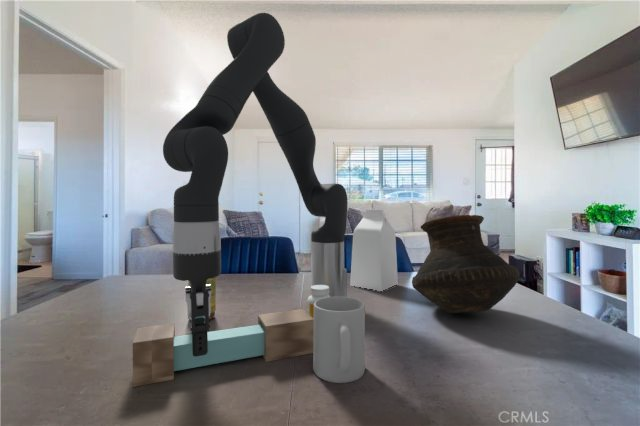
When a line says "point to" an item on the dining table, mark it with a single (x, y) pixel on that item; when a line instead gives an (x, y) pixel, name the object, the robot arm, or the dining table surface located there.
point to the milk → (374, 253)
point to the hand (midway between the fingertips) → (198, 344)
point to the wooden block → (287, 334)
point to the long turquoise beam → (221, 347)
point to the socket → (153, 354)
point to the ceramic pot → (462, 267)
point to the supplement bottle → (316, 297)
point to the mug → (339, 339)
